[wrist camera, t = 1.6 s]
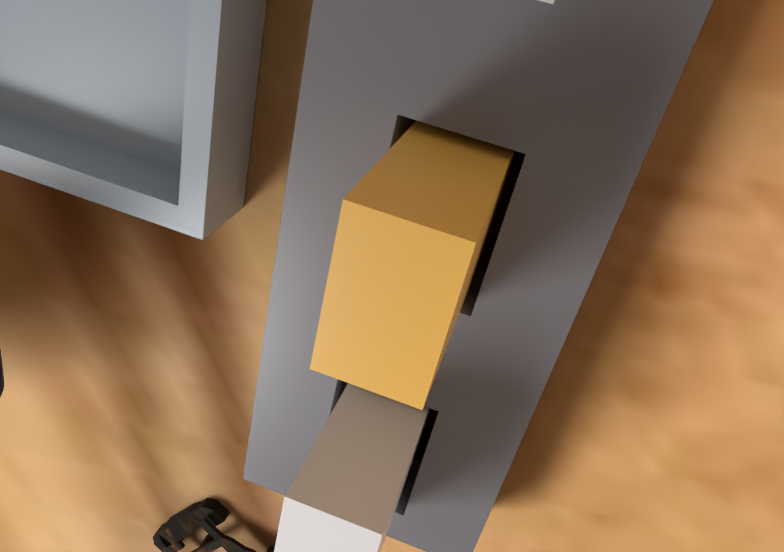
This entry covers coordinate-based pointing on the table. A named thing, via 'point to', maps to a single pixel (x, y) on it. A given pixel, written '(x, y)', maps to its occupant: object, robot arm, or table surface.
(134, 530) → the table surface
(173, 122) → the tray
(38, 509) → the table surface
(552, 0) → the block
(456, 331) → the fuse holder
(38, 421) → the table surface
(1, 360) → the robot arm
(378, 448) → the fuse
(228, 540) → the black knife
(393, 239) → the block
